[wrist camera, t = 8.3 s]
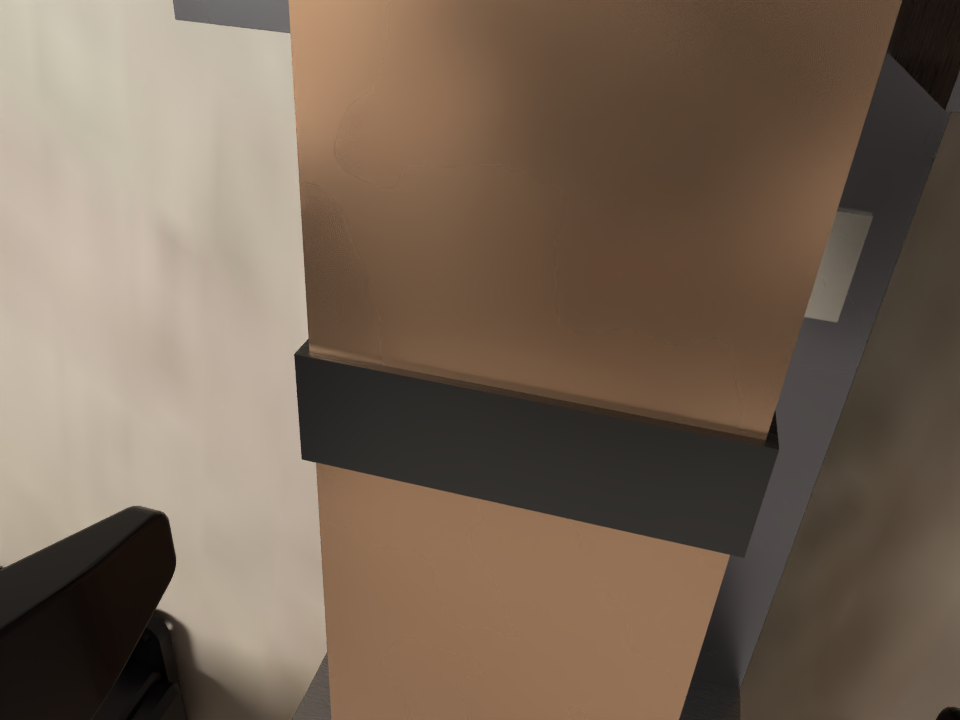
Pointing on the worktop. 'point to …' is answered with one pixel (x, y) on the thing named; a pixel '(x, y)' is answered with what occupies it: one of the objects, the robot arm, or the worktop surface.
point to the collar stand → (825, 328)
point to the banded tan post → (554, 328)
